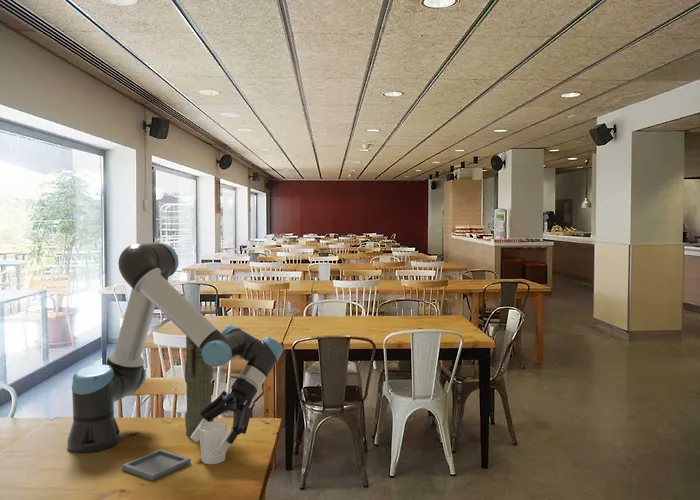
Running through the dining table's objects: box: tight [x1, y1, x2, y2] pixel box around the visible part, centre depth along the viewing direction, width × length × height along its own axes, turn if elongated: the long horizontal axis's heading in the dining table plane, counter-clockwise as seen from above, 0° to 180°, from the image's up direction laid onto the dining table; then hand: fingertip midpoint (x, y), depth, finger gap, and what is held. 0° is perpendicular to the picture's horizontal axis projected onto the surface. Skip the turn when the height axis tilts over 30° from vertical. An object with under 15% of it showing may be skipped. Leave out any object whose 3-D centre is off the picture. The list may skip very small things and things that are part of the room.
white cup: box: [199, 420, 228, 465], centre depth 164 cm, size 8×8×10 cm
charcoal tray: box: [121, 448, 192, 482], centre depth 159 cm, size 13×13×2 cm
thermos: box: [184, 335, 214, 438], centre depth 185 cm, size 9×12×35 cm
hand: (206, 446), depth 162 cm, fingers open, 13 cm apart
